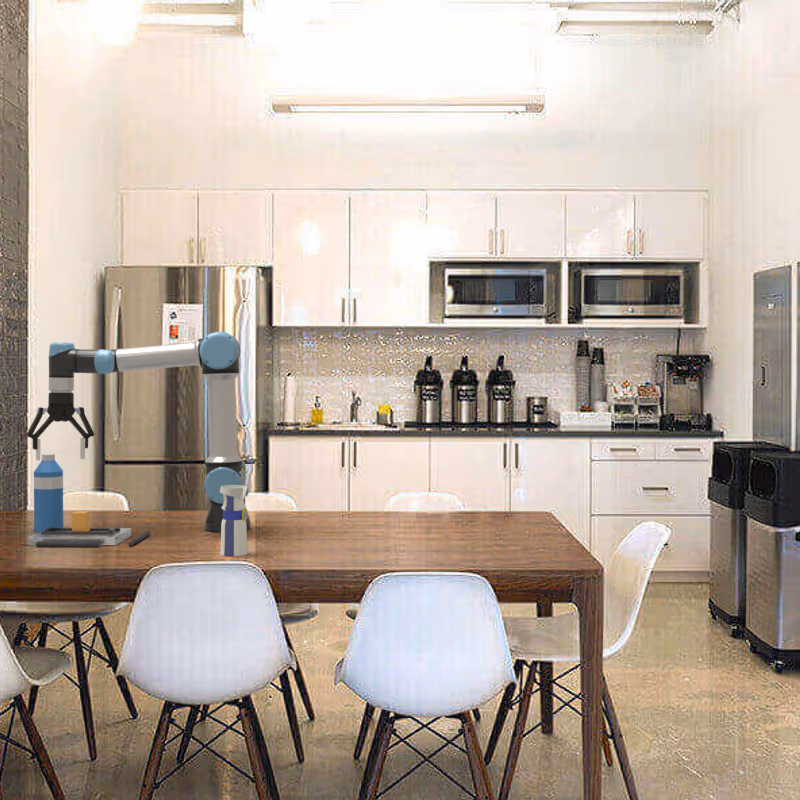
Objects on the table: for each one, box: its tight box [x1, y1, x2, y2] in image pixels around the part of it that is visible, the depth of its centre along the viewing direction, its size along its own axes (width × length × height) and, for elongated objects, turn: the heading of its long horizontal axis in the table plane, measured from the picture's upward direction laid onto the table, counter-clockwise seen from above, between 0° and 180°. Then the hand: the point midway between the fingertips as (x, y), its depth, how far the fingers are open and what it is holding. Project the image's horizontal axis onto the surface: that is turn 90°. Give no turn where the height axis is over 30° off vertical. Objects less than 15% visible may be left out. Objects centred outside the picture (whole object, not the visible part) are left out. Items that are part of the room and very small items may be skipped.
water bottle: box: [33, 453, 64, 533], centre depth 331 cm, size 9×9×25 cm
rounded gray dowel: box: [127, 530, 151, 547], centre depth 311 cm, size 21×2×2 cm, turn 0°
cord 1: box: [35, 541, 101, 548], centre depth 300 cm, size 19×2×2 cm, turn 90°
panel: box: [27, 526, 132, 546], centre depth 311 cm, size 26×18×4 cm
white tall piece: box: [219, 468, 249, 557], centre depth 289 cm, size 8×9×25 cm
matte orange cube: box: [71, 510, 91, 531], centre depth 311 cm, size 4×5×6 cm
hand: (60, 459), depth 316 cm, fingers open, 13 cm apart
